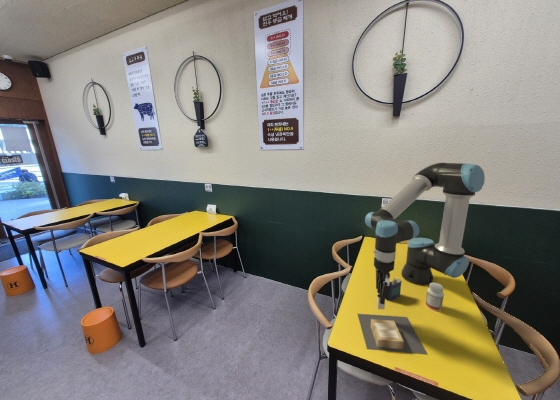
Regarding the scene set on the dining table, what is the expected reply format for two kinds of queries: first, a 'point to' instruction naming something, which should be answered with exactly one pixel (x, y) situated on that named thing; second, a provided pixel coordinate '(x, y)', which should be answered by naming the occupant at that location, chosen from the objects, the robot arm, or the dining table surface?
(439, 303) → the pill bottle
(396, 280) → the flask
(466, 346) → the dining table surface
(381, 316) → the mat
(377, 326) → the oak tile
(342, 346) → the dining table surface
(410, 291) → the dining table surface
